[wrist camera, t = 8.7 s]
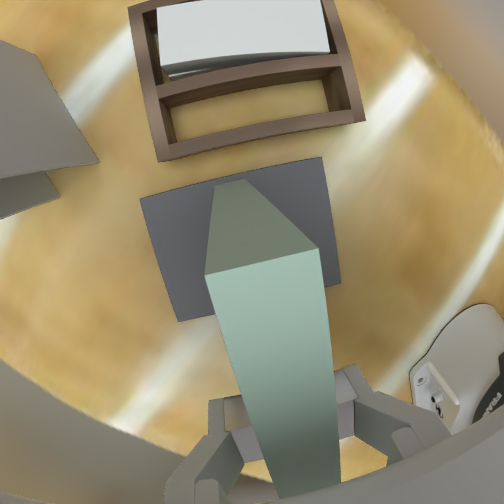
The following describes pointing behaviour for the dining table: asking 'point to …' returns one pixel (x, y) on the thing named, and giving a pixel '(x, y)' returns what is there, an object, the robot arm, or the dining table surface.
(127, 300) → the dining table surface
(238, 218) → the block
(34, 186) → the brochure
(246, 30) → the offcut upper
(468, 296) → the dining table surface
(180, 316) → the mat
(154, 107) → the rack
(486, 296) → the dining table surface
